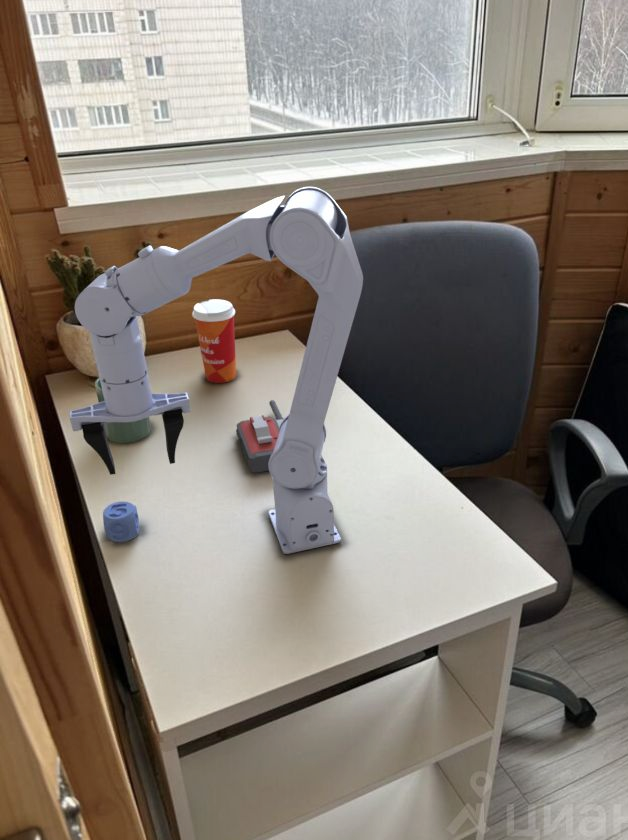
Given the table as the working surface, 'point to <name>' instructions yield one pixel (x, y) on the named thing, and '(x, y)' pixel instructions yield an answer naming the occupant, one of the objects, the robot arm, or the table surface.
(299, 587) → the table surface
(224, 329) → the paper cup
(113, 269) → the robot arm
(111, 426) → the pencil cup
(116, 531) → the decorative dice
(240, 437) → the walkie-talkie
